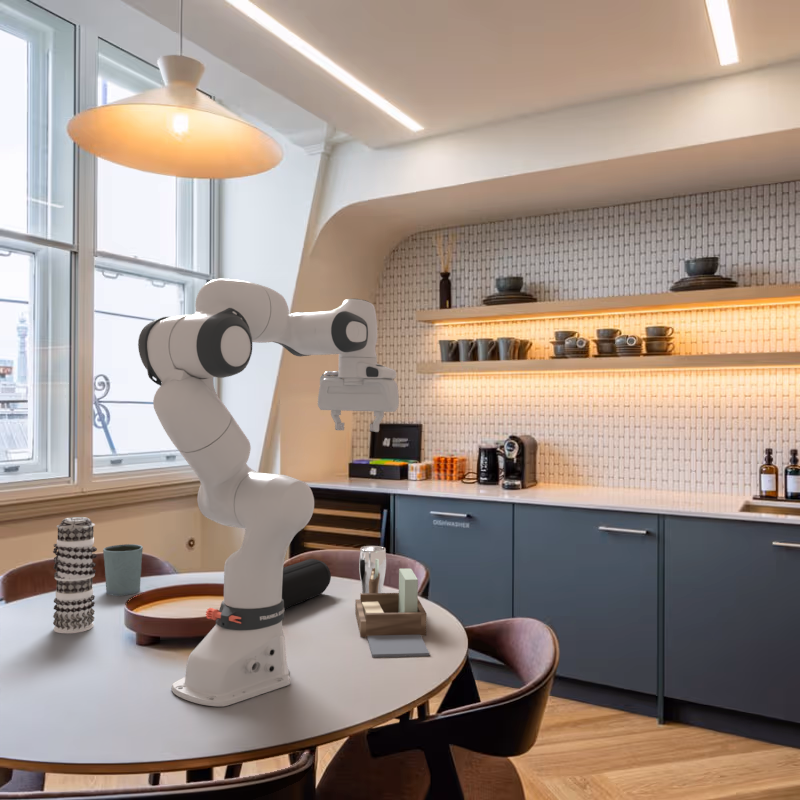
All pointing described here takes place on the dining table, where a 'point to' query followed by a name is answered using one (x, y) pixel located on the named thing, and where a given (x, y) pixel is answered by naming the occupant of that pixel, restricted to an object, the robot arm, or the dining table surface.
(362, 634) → the open wooden box
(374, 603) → the offcut top
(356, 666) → the dining table surface
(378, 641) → the slate mat
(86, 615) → the decorative candle
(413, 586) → the sage panel
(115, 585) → the green cup
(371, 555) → the beer glass
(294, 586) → the portable speaker
